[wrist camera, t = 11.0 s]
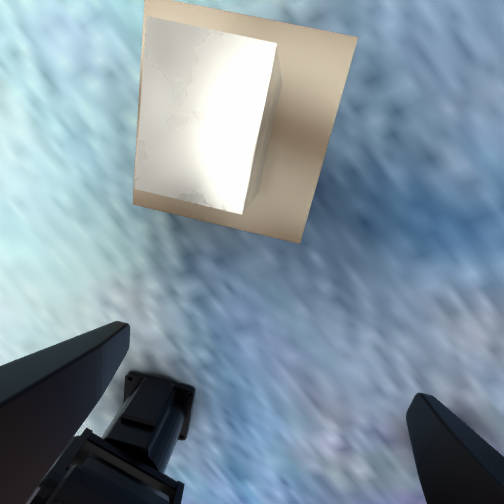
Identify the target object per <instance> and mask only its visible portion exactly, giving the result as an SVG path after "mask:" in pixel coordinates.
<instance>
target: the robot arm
mask: <svg viewBox="0 0 504 504" xmlns="http://www.w3.org/2000/svg"><path fill="white" fill-rule="evenodd" d="M129 343H130V325H129V324H128V323H124V322H120V321H115V322H112V323H110V324H107V325H105V326H102V327H99V328H97V329H94V330H92V331H89V332H87V333H84V334H81V335H79V336H76V337H74V338H71V339H69V340H66V341H63V342H61V343H58V344H56V345H53V346H51V347H48V348H45V349H43V350H40V351H38V352H35V353H33V354H30V355H27V356H25V357H22V358H20V359H17V360H14V361H12V362H9V363H7V364H4V365H2V366H0V504H181V500H182V495H183V489H184V483H182V482H180V481H175V480H174V479H172V478H170V477H169V476H167V475H165V474H164V472H165V469H166V467H167V464H168V462H169V459H170V457H171V454H172V452H173V449H174V446H175V444H176V441H177V439H178V440H185V439H186V438H187V435H188V430H189V425H190V419H191V413H192V408H193V402H194V397H195V390H194V389H193V388H192V387H189V386H185V385H182V384H178V383H174V382H170V381H167V380H163V379H159V378H155V377H151V376H148V375H144V374H140V373H136V372H132V371H130V372H128V374H127V375H126V376H125V388H124V404H123V405H122V407H121V408H120V410H119V411H118V413H117V414H116V416H115V417H114V419H113V420H112V422H111V423H110V425H109V426H108V428H107V429H106V431H105V433H104V434H103V436H102V437H99V436H97V435H96V434H94V433H92V432H93V431H92V430H90V429H88V428H86V429H85V430H84V432H83V433H82V434H81V436H79V435H78V436H74V435H75V433H76V432H77V431H78V429H79V428H80V426H81V425H82V424H83V422H84V421H85V419H86V418H87V417H88V415H89V414H90V412H91V411H92V410H93V408H94V407H95V405H96V404H97V403H98V401H99V400H100V398H101V397H102V395H103V393H104V392H105V390H106V388H107V387H108V385H109V383H110V381H111V380H112V378H113V376H114V374H115V373H116V371H117V369H118V367H119V366H120V364H121V362H122V360H123V359H124V357H125V355H126V353H127V351H128V349H129ZM188 392H189V393H188ZM406 422H407V426H408V431H409V436H410V440H411V445H412V449H413V454H414V459H415V463H416V468H417V472H418V476H419V480H420V483H421V486H422V490H423V493H424V496H425V499H426V502H427V504H504V457H503V456H502V455H501V454H500V453H499V452H498V451H496V450H495V449H494V448H493V447H492V446H491V445H489V444H488V443H487V442H486V441H485V440H484V439H482V438H481V437H480V436H479V435H478V434H477V433H476V432H474V431H473V430H472V429H471V428H470V427H469V426H467V425H466V424H465V423H464V422H463V421H462V420H460V419H459V418H458V417H457V416H456V415H455V414H454V413H452V412H451V411H450V410H449V409H448V408H447V407H445V406H444V405H443V404H442V403H441V402H440V401H438V400H437V399H436V398H435V397H434V396H432V395H428V394H424V393H417V394H416V395H415V397H414V399H413V401H412V403H411V405H410V407H409V409H408V411H407V414H406ZM73 436H74V437H73Z"/></svg>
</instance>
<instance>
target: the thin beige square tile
mask: <svg viewBox="0 0 504 504" xmlns="http://www.w3.org/2000/svg"><path fill="white" fill-rule="evenodd" d="M146 16H150V17H155V18H159V19H164V20H169V21H174V22H178V23H183V24H188V25H192V26H197V27H202V28H207V29H211V30H216V31H221V32H226V33H230V34H235V35H240V36H245V37H249V38H254V39H259V40H263V41H268V42H273V43H277V47H278V54H279V61H280V69H281V76H282V85H281V90H280V94H279V99H278V104H277V108H276V113H275V117H274V122H273V126H272V131H271V136H270V140H269V145H268V149H267V154H266V158H265V163H264V168H263V172H262V177H261V181H260V186H259V190H258V194H257V195H256V197H255V198H254V199H253V201H252V202H251V203H250V205H249V206H248V207H247V209H246V210H245V211H244V213H243V214H242V215H241V214H237V213H233V212H229V211H225V210H221V209H216V208H212V207H208V206H204V205H200V204H196V203H191V202H187V201H183V200H179V199H175V198H171V197H167V196H162V195H158V194H154V193H150V192H146V191H142V190H138V189H135V178H136V163H137V148H138V133H139V117H140V102H141V87H142V72H143V57H144V42H145V27H146ZM357 40H358V37H354V36H349V35H344V34H339V33H334V32H329V31H324V30H319V29H314V28H309V27H304V26H299V25H294V24H289V23H284V22H279V21H274V20H269V19H263V18H258V17H253V16H248V15H243V14H238V13H233V12H228V11H223V10H218V9H213V8H208V7H203V6H198V5H193V4H188V3H183V2H178V1H173V0H145V2H144V19H143V36H142V54H141V71H140V88H139V105H138V122H137V140H136V157H135V174H134V191H133V204H134V205H138V206H142V207H146V208H151V209H155V210H159V211H163V212H167V213H172V214H176V215H180V216H184V217H189V218H193V219H197V220H201V221H205V222H210V223H214V224H218V225H222V226H227V227H231V228H235V229H239V230H243V231H248V232H252V233H256V234H260V235H265V236H269V237H273V238H277V239H282V240H286V241H290V242H294V243H298V244H300V242H301V239H302V235H303V232H304V228H305V224H306V221H307V217H308V214H309V210H310V207H311V203H312V200H313V196H314V192H315V189H316V185H317V182H318V178H319V175H320V171H321V168H322V164H323V160H324V157H325V153H326V150H327V146H328V143H329V139H330V136H331V132H332V128H333V125H334V121H335V118H336V114H337V111H338V107H339V104H340V100H341V96H342V93H343V89H344V86H345V82H346V79H347V75H348V72H349V68H350V64H351V61H352V57H353V54H354V50H355V47H356V43H357Z"/></svg>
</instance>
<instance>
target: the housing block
mask: <svg viewBox="0 0 504 504" xmlns="http://www.w3.org/2000/svg"><path fill="white" fill-rule="evenodd" d="M281 85H282V76H281V69H280V61H279V54H278V47H277V43H273V42H268V41H263V40H259V39H254V38H249V37H245V36H240V35H235V34H230V33H226V32H221V31H216V30H211V29H207V28H202V27H197V26H192V25H188V24H183V23H178V22H174V21H169V20H164V19H159V18H155V17H150V16H146V27H145V42H144V57H143V72H142V87H141V102H140V117H139V133H138V148H137V163H136V178H135V189H138V190H142V191H146V192H150V193H154V194H158V195H162V196H167V197H171V198H175V199H179V200H183V201H187V202H191V203H196V204H200V205H204V206H208V207H212V208H216V209H221V210H225V211H229V212H233V213H237V214H241V215H242V214H243V213H244V211H245V210H246V209H247V207H248V206H249V205H250V203H251V202H252V201H253V199H254V198H255V197H256V195H257V194H258V190H259V186H260V181H261V177H262V172H263V168H264V163H265V158H266V154H267V149H268V145H269V140H270V136H271V131H272V126H273V122H274V117H275V113H276V108H277V104H278V99H279V94H280V90H281Z"/></svg>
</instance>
